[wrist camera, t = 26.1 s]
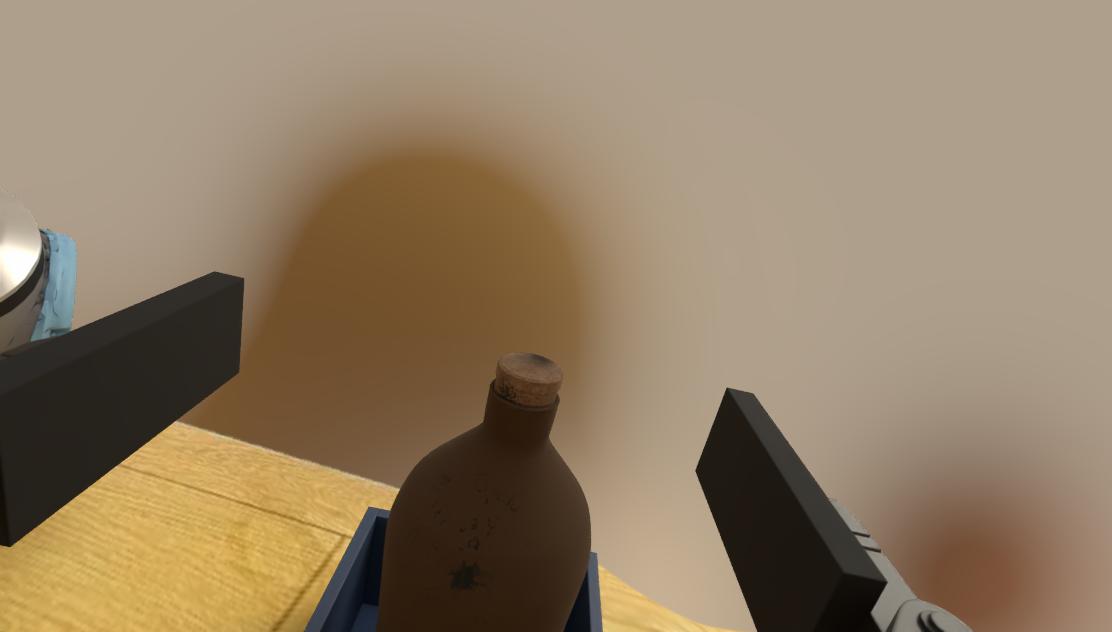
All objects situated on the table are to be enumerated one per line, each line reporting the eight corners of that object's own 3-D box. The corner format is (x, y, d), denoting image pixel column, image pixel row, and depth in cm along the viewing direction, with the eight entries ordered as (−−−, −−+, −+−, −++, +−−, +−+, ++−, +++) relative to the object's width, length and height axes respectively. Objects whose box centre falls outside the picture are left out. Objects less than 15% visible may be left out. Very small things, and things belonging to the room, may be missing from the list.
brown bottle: (550, 806, 31) (685, 429, 23) (353, 863, 27) (436, 426, 19) (502, 640, 40) (587, 329, 33) (349, 664, 36) (404, 312, 28)
